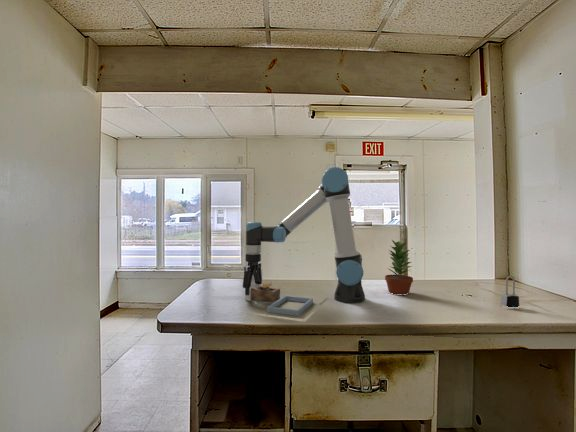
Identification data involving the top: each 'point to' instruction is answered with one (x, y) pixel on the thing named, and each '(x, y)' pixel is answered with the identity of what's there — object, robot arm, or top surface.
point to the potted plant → (399, 271)
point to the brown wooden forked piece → (265, 294)
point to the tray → (275, 309)
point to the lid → (265, 289)
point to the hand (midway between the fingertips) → (252, 299)
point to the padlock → (510, 296)
